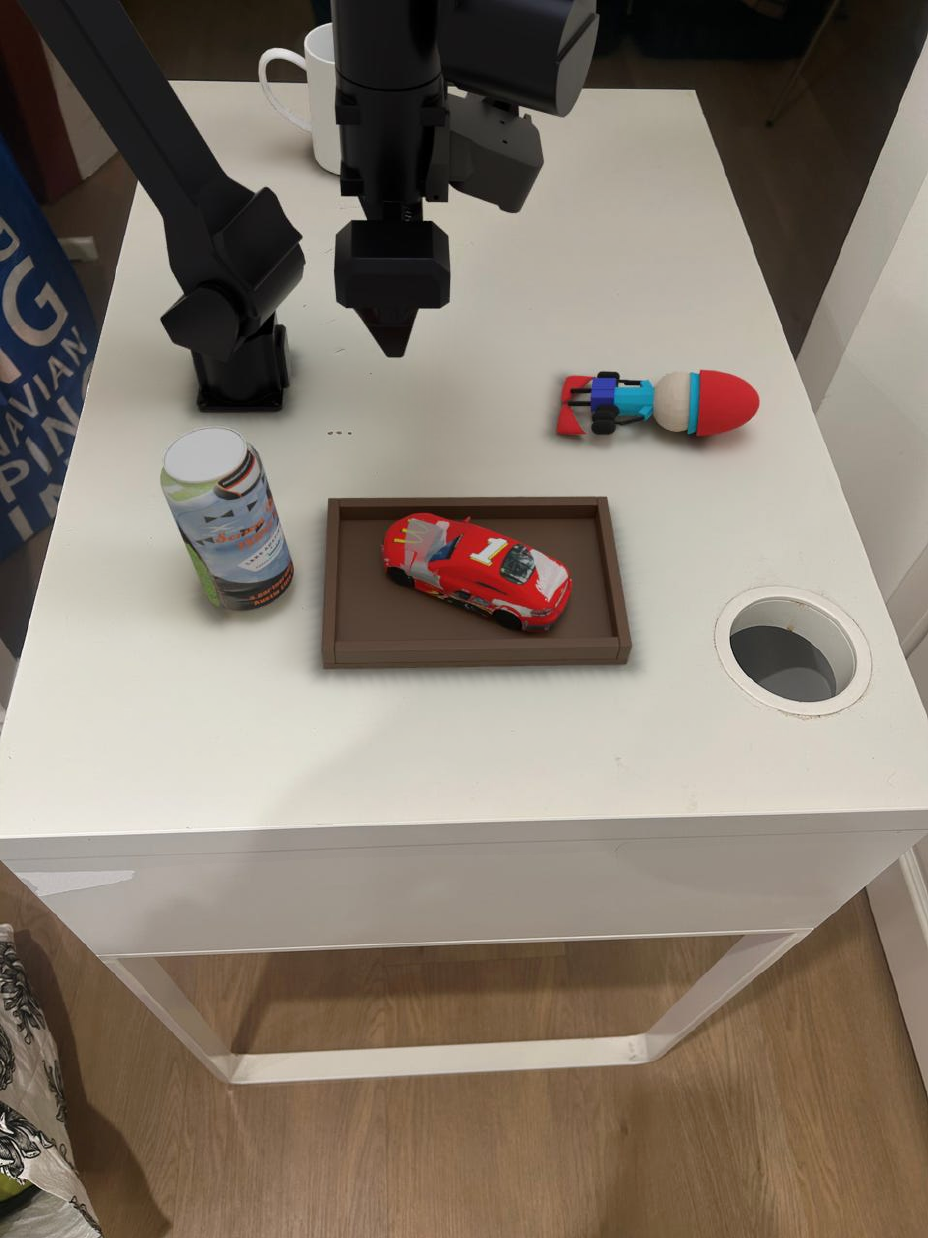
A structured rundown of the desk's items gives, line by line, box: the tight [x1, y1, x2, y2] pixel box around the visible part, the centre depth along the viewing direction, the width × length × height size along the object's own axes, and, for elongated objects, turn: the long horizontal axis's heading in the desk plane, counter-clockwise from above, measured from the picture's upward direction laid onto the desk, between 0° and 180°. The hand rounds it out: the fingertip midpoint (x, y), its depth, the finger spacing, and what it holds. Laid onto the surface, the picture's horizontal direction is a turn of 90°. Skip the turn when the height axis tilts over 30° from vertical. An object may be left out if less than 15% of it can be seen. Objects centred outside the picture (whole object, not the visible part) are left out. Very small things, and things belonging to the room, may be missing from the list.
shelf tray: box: [320, 495, 633, 670], centre depth 65 cm, size 20×13×2 cm, turn 93°
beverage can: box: [159, 425, 295, 612], centre depth 61 cm, size 6×7×12 cm
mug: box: [258, 22, 341, 176], centre depth 90 cm, size 12×8×10 cm, turn 95°
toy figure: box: [556, 369, 761, 437], centre depth 75 cm, size 8×5×15 cm
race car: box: [381, 513, 572, 632], centre depth 64 cm, size 13×5×4 cm, turn 64°
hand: (394, 308), depth 64 cm, fingers open, 9 cm apart
